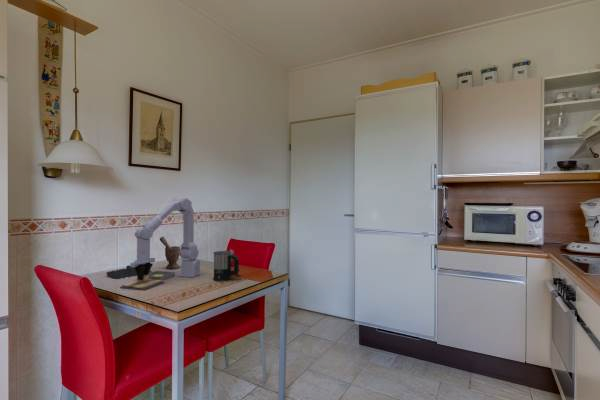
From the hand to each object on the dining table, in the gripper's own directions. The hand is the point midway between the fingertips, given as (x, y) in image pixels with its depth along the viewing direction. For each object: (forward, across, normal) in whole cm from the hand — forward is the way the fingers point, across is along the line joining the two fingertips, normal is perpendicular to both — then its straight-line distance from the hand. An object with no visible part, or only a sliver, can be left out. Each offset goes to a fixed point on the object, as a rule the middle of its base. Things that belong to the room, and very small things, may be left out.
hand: (142, 279), depth 153 cm
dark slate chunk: (+4, -18, -24) cm, 30 cm away
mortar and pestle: (+3, -36, -11) cm, 38 cm away
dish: (+3, -15, -3) cm, 16 cm away
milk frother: (+3, -26, +32) cm, 41 cm away
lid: (+2, 0, 0) cm, 2 cm away
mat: (+3, 0, 0) cm, 3 cm away
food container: (+3, -53, +19) cm, 56 cm away
